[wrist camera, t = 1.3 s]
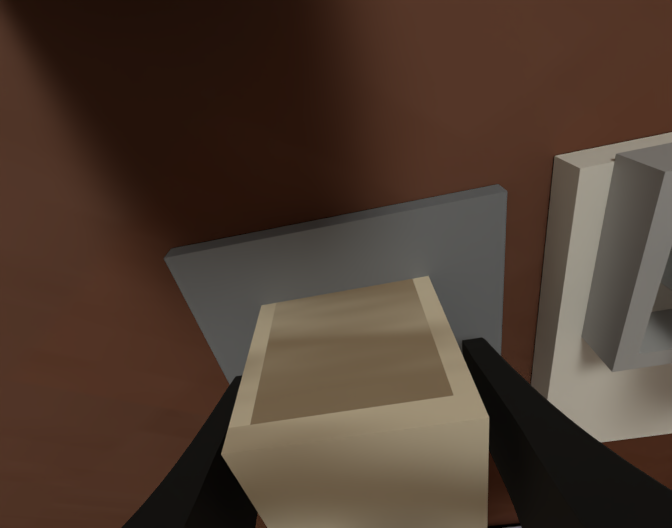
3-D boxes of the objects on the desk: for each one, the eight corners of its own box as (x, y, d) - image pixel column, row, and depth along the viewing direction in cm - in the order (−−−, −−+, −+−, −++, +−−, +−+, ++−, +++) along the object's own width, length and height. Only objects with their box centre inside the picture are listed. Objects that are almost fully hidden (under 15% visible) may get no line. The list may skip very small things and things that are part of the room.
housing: (438, 391, 14) (487, 544, 10) (302, 410, 14) (291, 564, 10) (428, 275, 11) (489, 417, 7) (261, 305, 12) (221, 454, 7)
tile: (492, 407, 15) (514, 455, 14) (266, 439, 16) (259, 487, 15) (498, 184, 10) (533, 212, 9) (171, 248, 11) (140, 286, 9)
